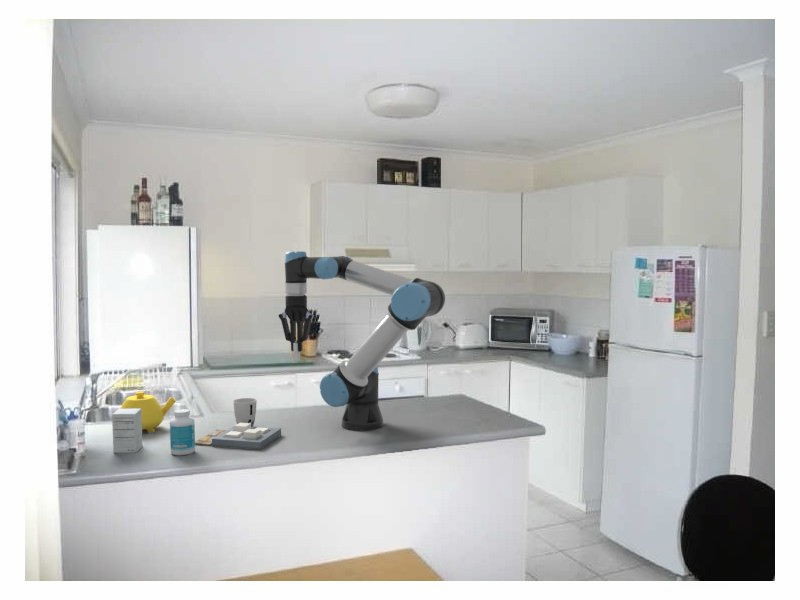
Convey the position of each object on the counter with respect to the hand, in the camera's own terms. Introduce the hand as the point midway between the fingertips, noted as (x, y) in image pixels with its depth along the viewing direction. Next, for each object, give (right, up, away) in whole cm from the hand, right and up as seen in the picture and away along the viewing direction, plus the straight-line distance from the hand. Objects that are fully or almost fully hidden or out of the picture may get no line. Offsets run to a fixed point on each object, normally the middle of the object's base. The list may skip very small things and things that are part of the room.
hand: (296, 360), depth 248 cm
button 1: (-18, -25, -18) cm, 36 cm away
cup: (-19, -25, +1) cm, 31 cm away
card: (-26, -25, -12) cm, 39 cm away
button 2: (-17, -24, -11) cm, 31 cm away
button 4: (-10, -25, -13) cm, 30 cm away
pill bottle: (-32, -27, -28) cm, 51 cm away
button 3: (-12, -24, -19) cm, 33 cm away
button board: (-14, -26, -15) cm, 33 cm away
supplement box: (-51, -27, -25) cm, 62 cm away
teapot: (-53, -25, -1) cm, 59 cm away
